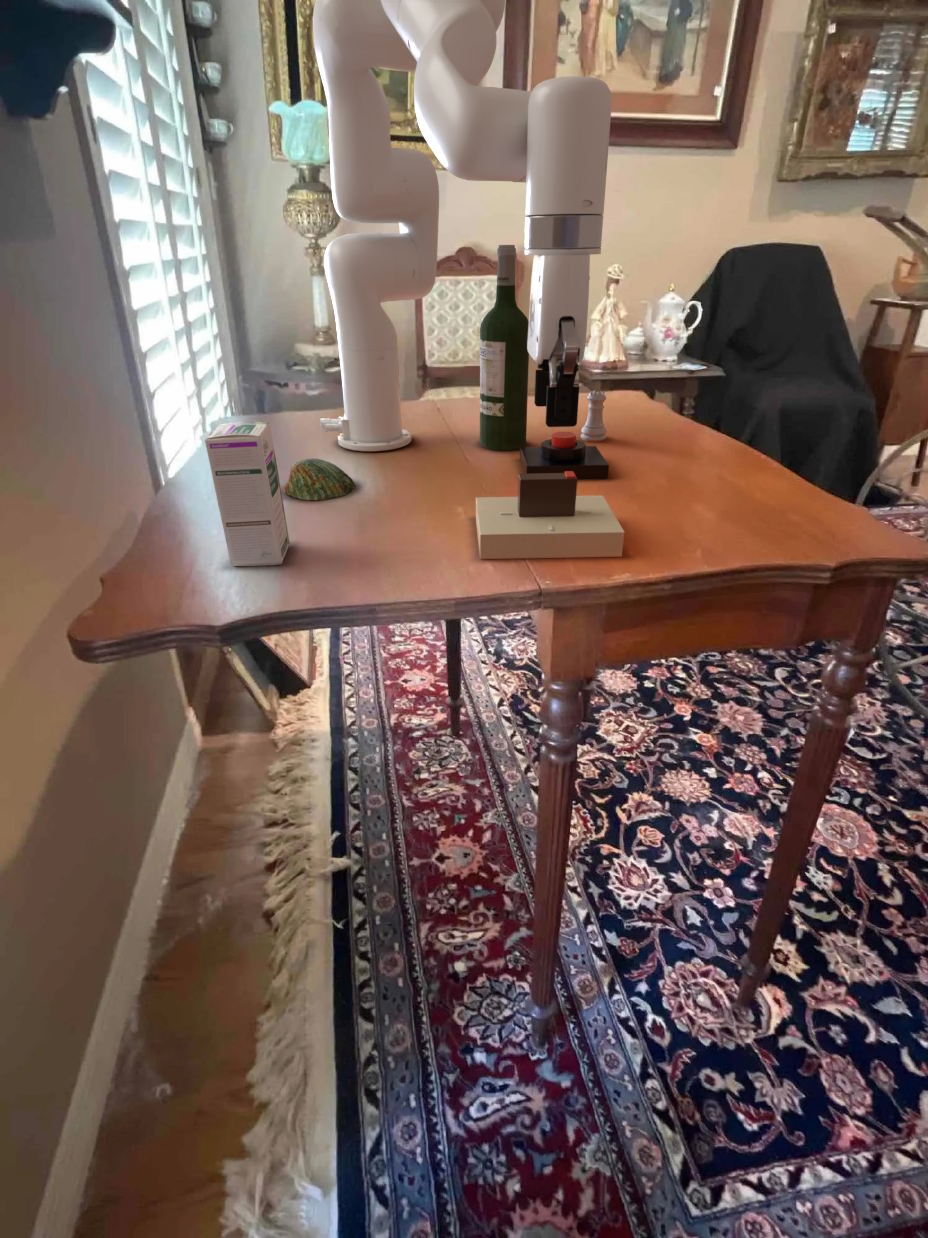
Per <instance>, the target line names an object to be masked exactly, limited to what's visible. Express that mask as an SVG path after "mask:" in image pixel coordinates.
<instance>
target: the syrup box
mask: <svg viewBox="0 0 928 1238" xmlns="http://www.w3.org/2000/svg"><path fill="white" fill-rule="evenodd" d="M204 443H205V448H206V453H207V458H208V463H209V467H210V472H211V477H212V481H213V486H214V492H215V495H216V501H217V506H218V511H219V515H220V519H221V524H222V529H223V533H224V539H225V542H226V543H225V544H226V547H227V553H228V557H229V562H230V565H231V566H233V567H259V566H261V567H262V566H276V565H277V566H278V565H282V564H283V561H284V558H285V557H286V554H287V553H288V549H289V546H290V536H289V531H288V525H287V518H286V512H285V507H284V501H283V494H282V488H281V482H280V476H279V469H278V463H277V457H276V452H275V447H274V440H273V434H272V428H271V424H270V422H264V421H237V422H229V423H228V422H227V423H218V424H217V426H216V428H215V429H214V430H213V431H212V432H210V434H209V435H207V437H206V438H205V439H204Z"/></svg>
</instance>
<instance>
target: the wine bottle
mask: <svg viewBox="0 0 928 1238" xmlns="http://www.w3.org/2000/svg"><path fill="white" fill-rule="evenodd" d="M496 254H497V270H496V289H495V291H496V292H495V302H494V305H493V307H492V308H491V309H490V310H489V311H488V312H487V313H486V314H485V316H484V317H483V318H482V320H481V323H480V328H479V445H480V446H481V448H484V449H486V450H489V451H496V452H510V451H511V452H512V451H518V450H520V447H526V445H527V427H528V426H527V425H528V422H527V421H528V402H529V401H528V399H529V397H528V396H529V370H530V354H529V353H528V350H527V341H528V326H529V318H528V317H527V315H525V314H524V312H523V311H522V310H521V309H520V307H518V305H517V301H516V255H517V249H516V245H515V244H498V247H497V251H496Z"/></svg>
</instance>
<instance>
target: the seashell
mask: <svg viewBox="0 0 928 1238" xmlns="http://www.w3.org/2000/svg"><path fill="white" fill-rule="evenodd" d="M355 483H356V482H354V480H353V479H352V478H351V476H350V475H348V474H347V473H346V472H345V471H344V470H342V468H340V467H339V466H338V465H336V464H334V463H332V462H330V461H327V460H324V459H320V458H306V459H305V458H304V459H302V460H301V459H300V460H298V461H295V462H294V463H293V464H292V465H291V467H290V471H289V476H288V480H287V482H286V484H285V485H284V487H283V492H284V494H286V495H288V497H292V498H293V499H299V500H306V501H321V500H322V501H323V500H324V501H325V500H328V499H335V498H338V497H339V498H340V497H341V496H345V495H346V494H349V493H350V492H352V490H354V489H355V488H356V484H355Z"/></svg>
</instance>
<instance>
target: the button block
mask: <svg viewBox="0 0 928 1238" xmlns="http://www.w3.org/2000/svg"><path fill="white" fill-rule="evenodd" d="M551 444H552V438H549V439H545V440H544V441H542V442H541V443H540V446H524V447H520V449H519V462H520V466H521V468H522V472H523V474H538V473H564V471H573V472H574V474H575V475H576V477H577V481H578V480H579V481H580V480H581V481H582V480H585V481H586V480H588V481H589V480H608V479H609V469H610V464H609V462H608V461H607V460H606V459H605V457H604V456H603V454H602V453H601V451H600V450H599V448H598V447H597V446H596V445H587V444H586V443H585V441H583V440H579V439H576V447H571V448H559V447H554V446H551Z"/></svg>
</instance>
